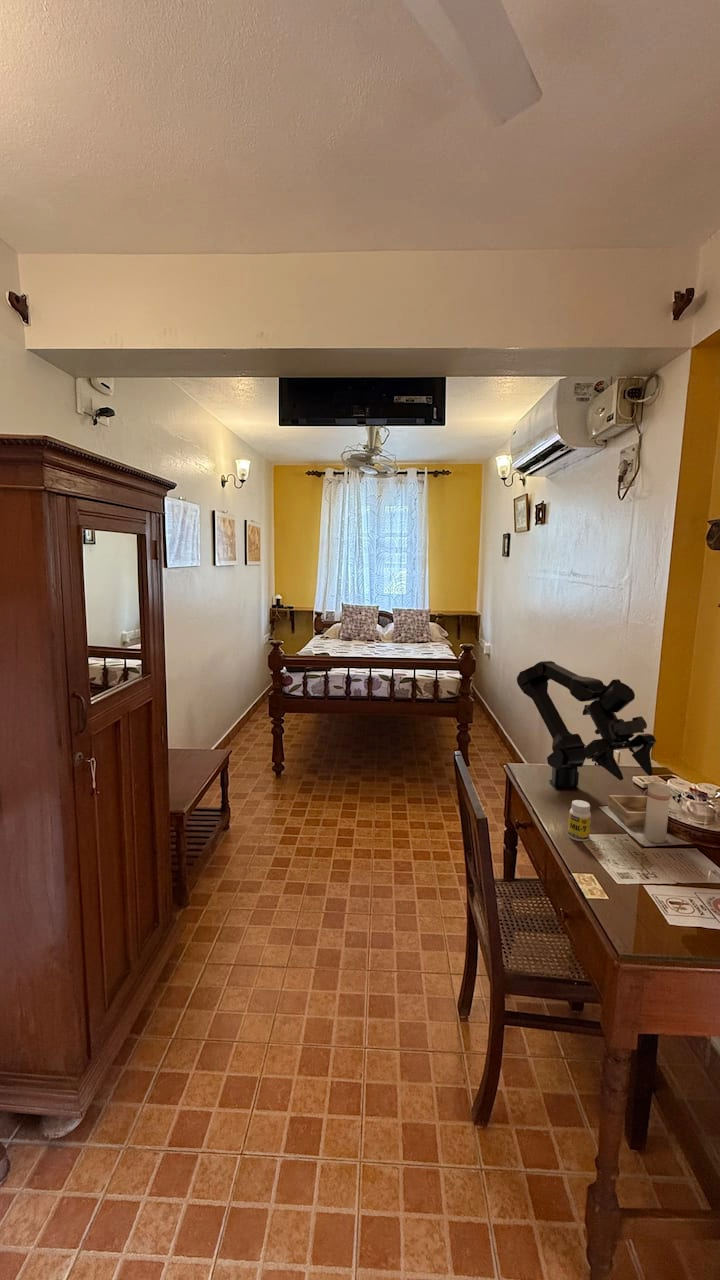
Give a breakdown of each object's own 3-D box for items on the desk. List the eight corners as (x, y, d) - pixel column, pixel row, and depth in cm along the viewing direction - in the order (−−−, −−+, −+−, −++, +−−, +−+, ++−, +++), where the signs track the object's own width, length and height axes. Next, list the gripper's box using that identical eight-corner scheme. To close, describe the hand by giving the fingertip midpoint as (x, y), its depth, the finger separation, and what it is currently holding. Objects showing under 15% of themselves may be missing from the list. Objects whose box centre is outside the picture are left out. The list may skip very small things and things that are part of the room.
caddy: (625, 826, 136) (626, 812, 135) (607, 807, 146) (608, 795, 145) (667, 826, 136) (668, 813, 135) (646, 808, 146) (647, 796, 145)
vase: (649, 843, 128) (654, 790, 126) (639, 833, 132) (644, 781, 130) (670, 843, 128) (675, 790, 126) (659, 833, 132) (664, 782, 130)
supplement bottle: (566, 838, 129) (568, 805, 128) (569, 830, 133) (571, 797, 132) (588, 843, 127) (590, 809, 126) (590, 835, 131) (592, 801, 130)
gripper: (594, 708, 134) (626, 767, 125) (653, 703, 140) (687, 758, 131) (570, 730, 142) (599, 787, 134) (627, 724, 148) (657, 778, 140)
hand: (636, 777), depth 134 cm, fingers open, 9 cm apart
